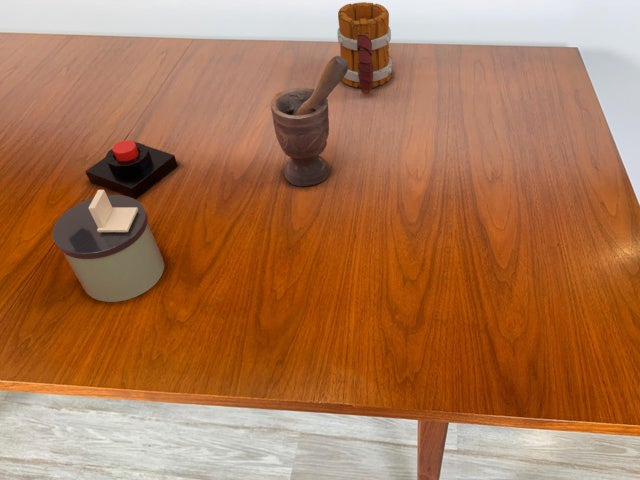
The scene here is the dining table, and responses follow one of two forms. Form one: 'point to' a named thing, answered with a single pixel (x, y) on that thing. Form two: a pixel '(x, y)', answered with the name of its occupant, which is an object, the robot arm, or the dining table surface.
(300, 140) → the mortar and pestle
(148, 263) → the grey green round canister
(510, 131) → the dining table surface
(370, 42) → the mug
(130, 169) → the button block
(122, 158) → the button
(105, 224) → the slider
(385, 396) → the dining table surface
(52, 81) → the dining table surface
